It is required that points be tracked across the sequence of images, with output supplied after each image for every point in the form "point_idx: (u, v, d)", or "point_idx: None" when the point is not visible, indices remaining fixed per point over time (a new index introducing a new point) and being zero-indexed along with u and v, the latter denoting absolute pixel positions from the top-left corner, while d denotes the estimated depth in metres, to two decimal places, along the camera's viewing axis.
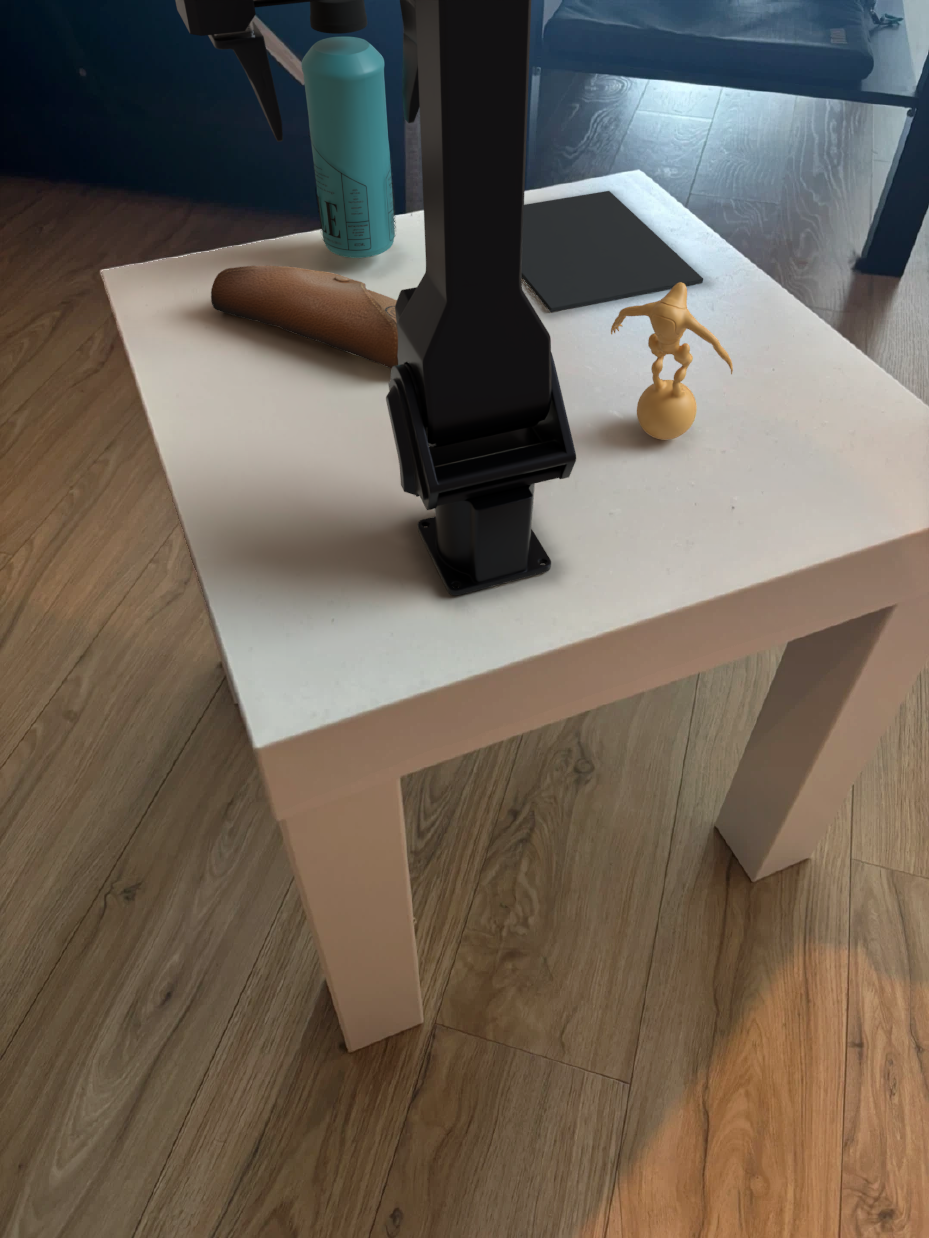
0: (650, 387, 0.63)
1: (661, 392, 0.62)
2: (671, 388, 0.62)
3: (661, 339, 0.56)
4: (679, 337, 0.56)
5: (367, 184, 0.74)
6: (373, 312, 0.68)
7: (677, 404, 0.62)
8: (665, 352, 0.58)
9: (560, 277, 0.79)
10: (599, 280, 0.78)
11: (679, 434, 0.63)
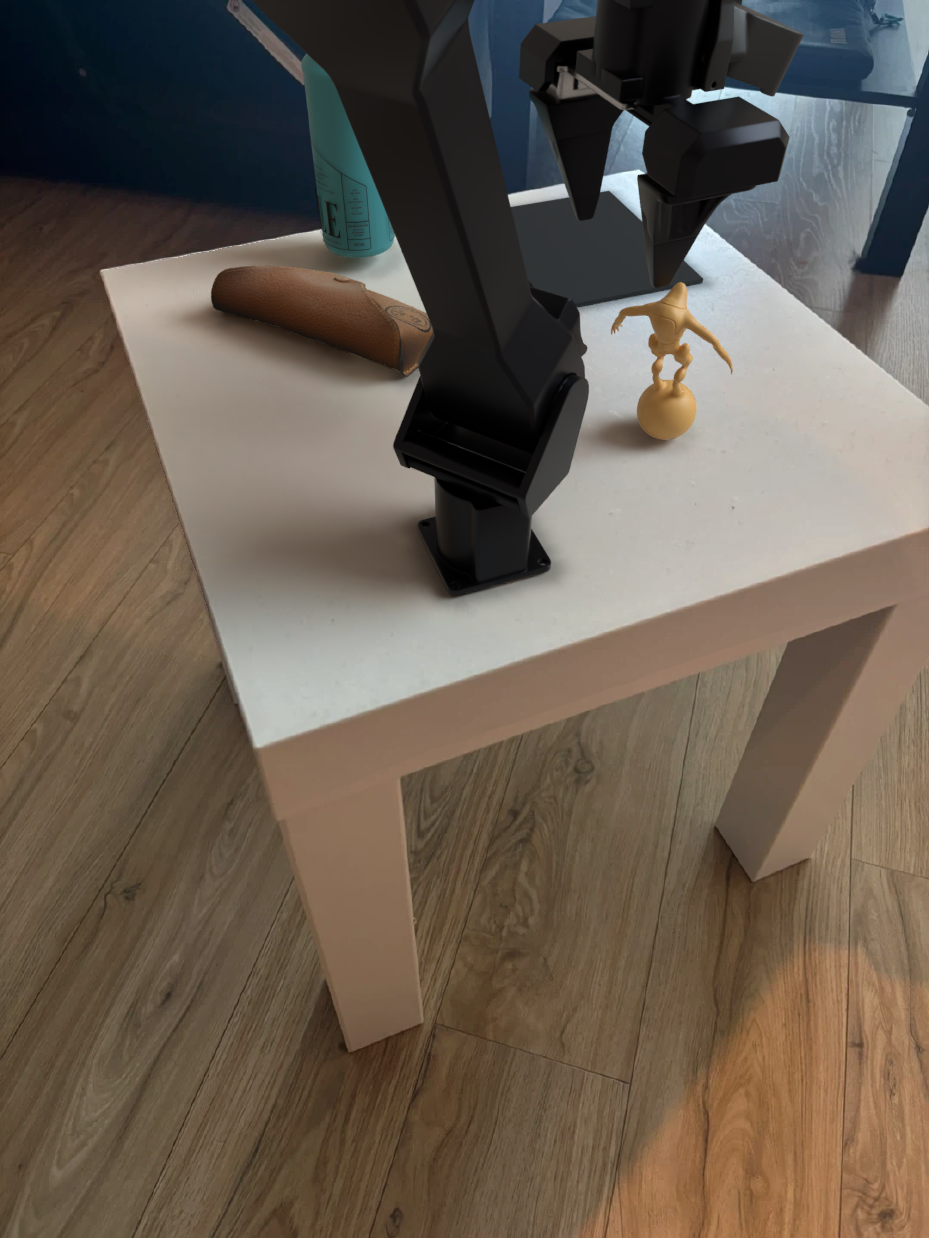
0: (650, 387, 0.63)
1: (661, 392, 0.62)
2: (671, 388, 0.62)
3: (661, 339, 0.56)
4: (679, 337, 0.56)
5: (367, 184, 0.74)
6: (373, 312, 0.68)
7: (677, 404, 0.62)
8: (665, 352, 0.58)
9: (560, 277, 0.79)
10: (599, 280, 0.78)
11: (679, 434, 0.63)
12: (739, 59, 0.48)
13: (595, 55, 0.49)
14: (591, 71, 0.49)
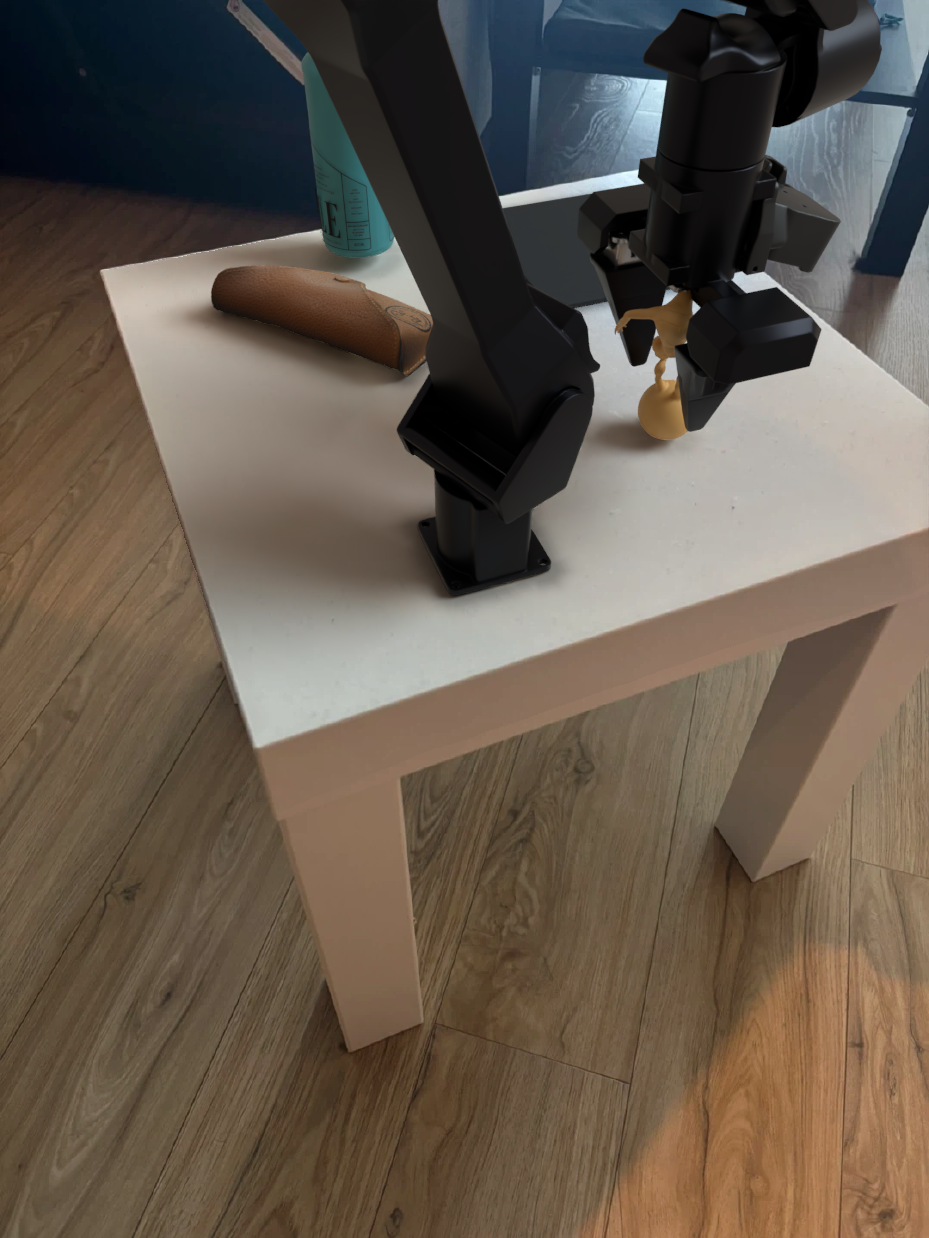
0: (652, 387, 0.63)
1: (663, 392, 0.62)
2: (673, 389, 0.62)
3: (665, 344, 0.56)
4: (683, 342, 0.56)
5: (367, 184, 0.74)
6: (373, 312, 0.68)
7: (678, 405, 0.61)
8: (669, 356, 0.58)
9: (560, 277, 0.79)
10: (599, 280, 0.78)
11: (679, 435, 0.63)
12: (779, 247, 0.53)
13: (646, 240, 0.53)
14: (642, 252, 0.54)
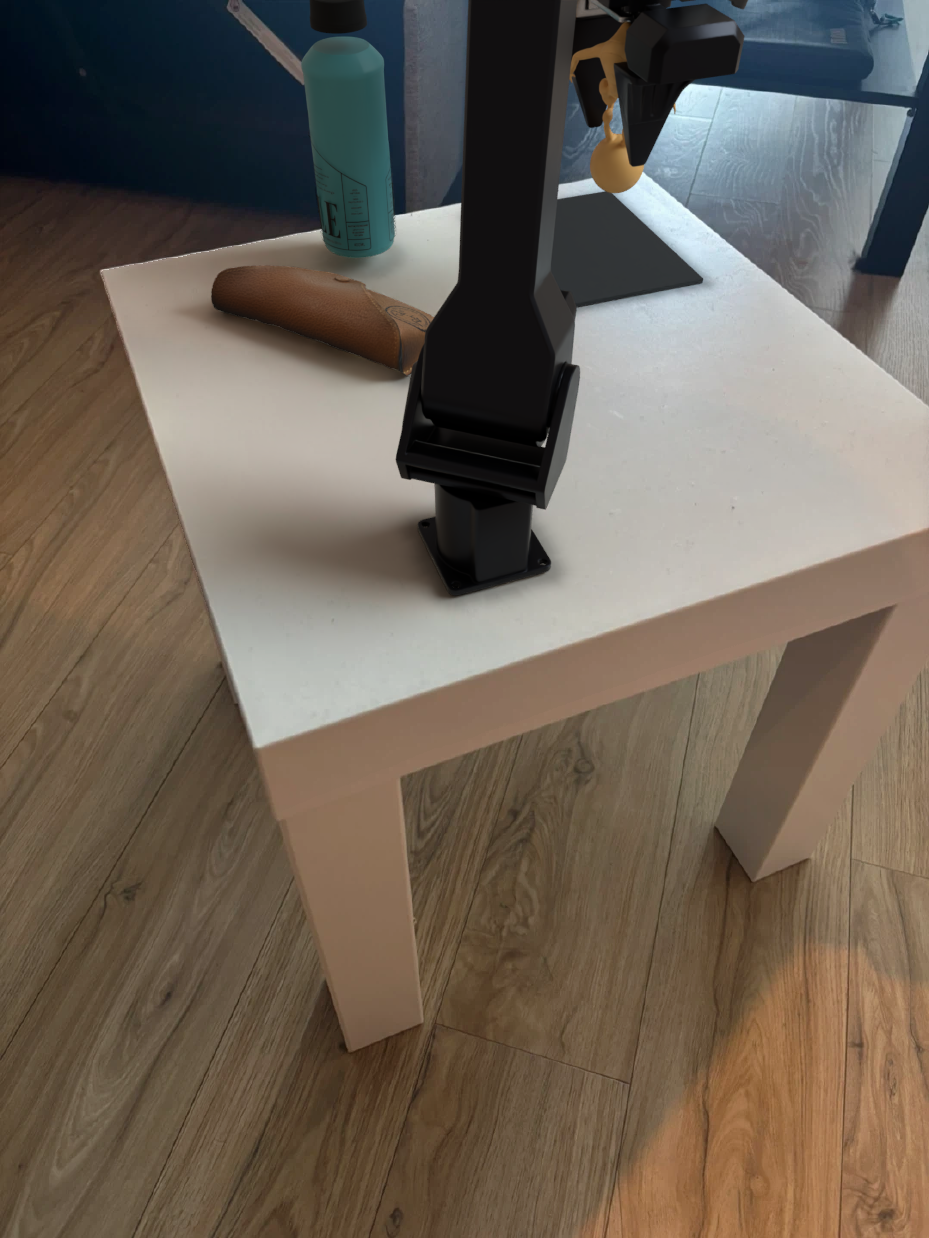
0: (602, 141, 0.68)
1: (611, 143, 0.68)
2: (621, 139, 0.68)
3: (611, 79, 0.62)
4: None
5: (367, 184, 0.74)
6: (373, 312, 0.68)
7: (626, 153, 0.68)
8: (615, 95, 0.64)
9: (560, 277, 0.79)
10: (599, 280, 0.78)
11: (629, 185, 0.69)
12: None
13: None
14: None
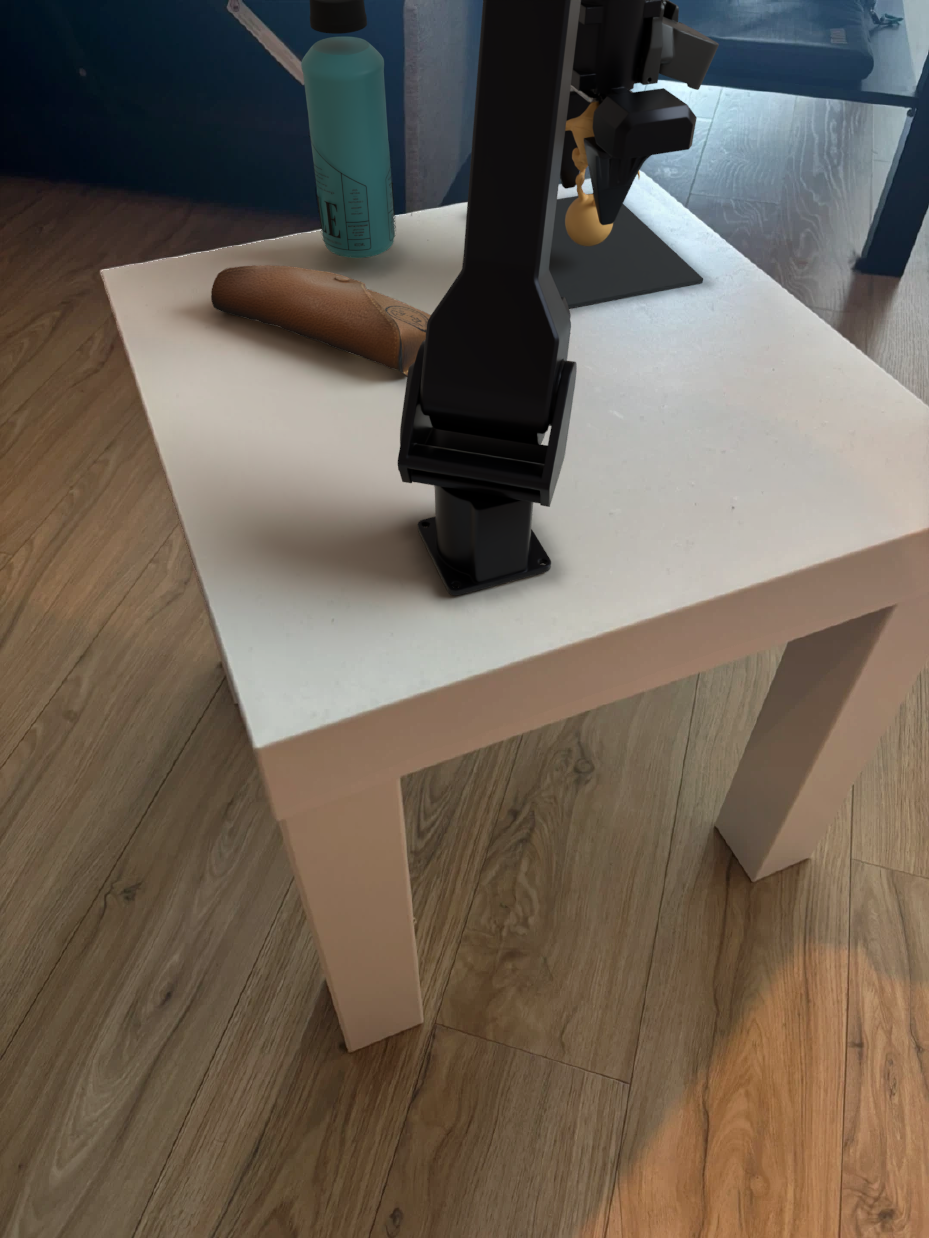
0: (575, 200, 0.77)
1: (584, 202, 0.76)
2: (592, 199, 0.76)
3: (582, 149, 0.70)
4: None
5: (367, 184, 0.74)
6: (373, 312, 0.68)
7: None
8: (586, 162, 0.72)
9: (560, 277, 0.79)
10: (599, 280, 0.78)
11: (600, 240, 0.77)
12: (668, 61, 0.67)
13: None
14: None
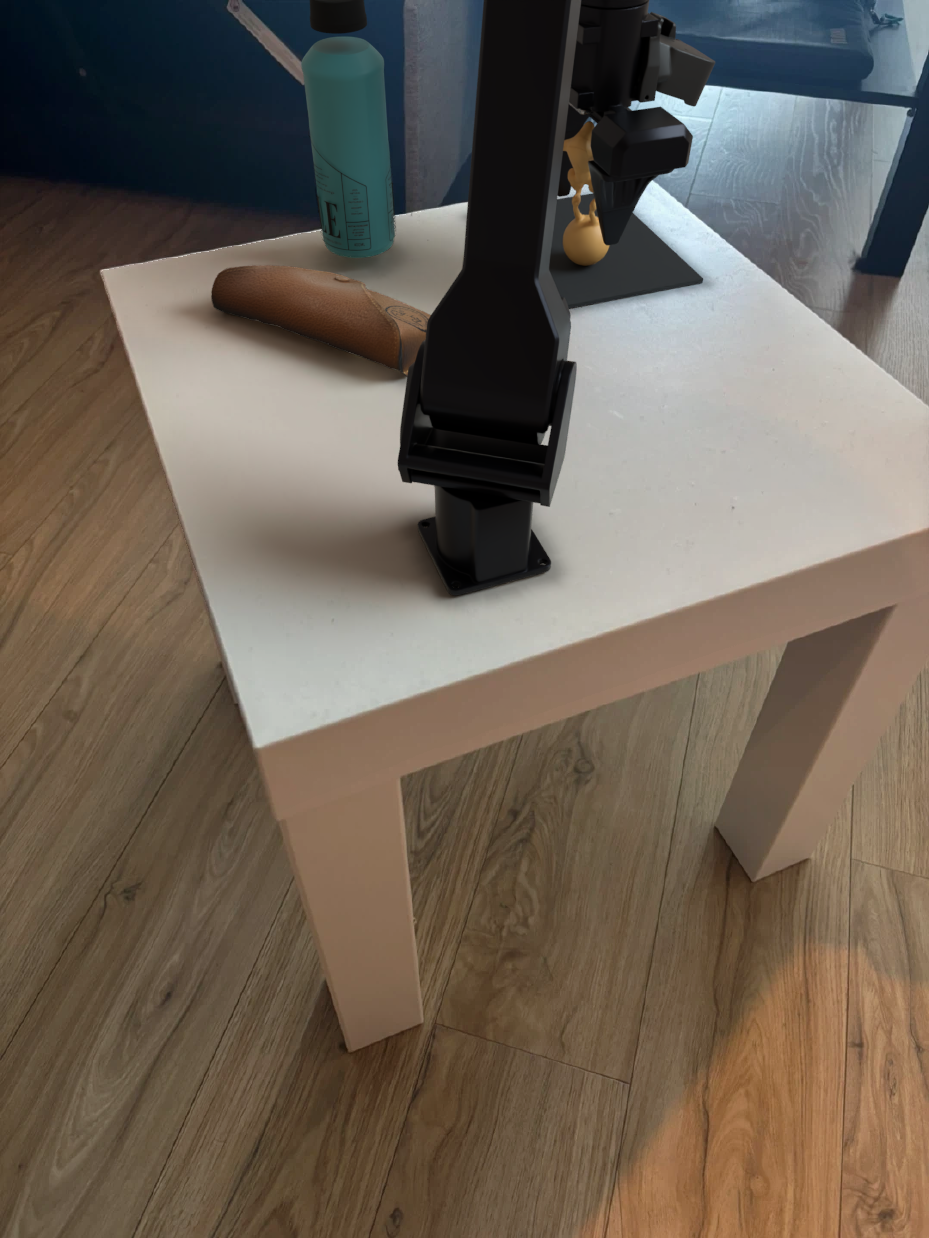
0: (572, 221, 0.78)
1: (580, 222, 0.77)
2: (588, 219, 0.77)
3: (577, 168, 0.72)
4: None
5: (367, 184, 0.74)
6: (373, 312, 0.68)
7: (593, 231, 0.77)
8: (581, 182, 0.73)
9: (560, 277, 0.79)
10: (599, 280, 0.78)
11: (597, 258, 0.79)
12: (665, 79, 0.68)
13: None
14: None
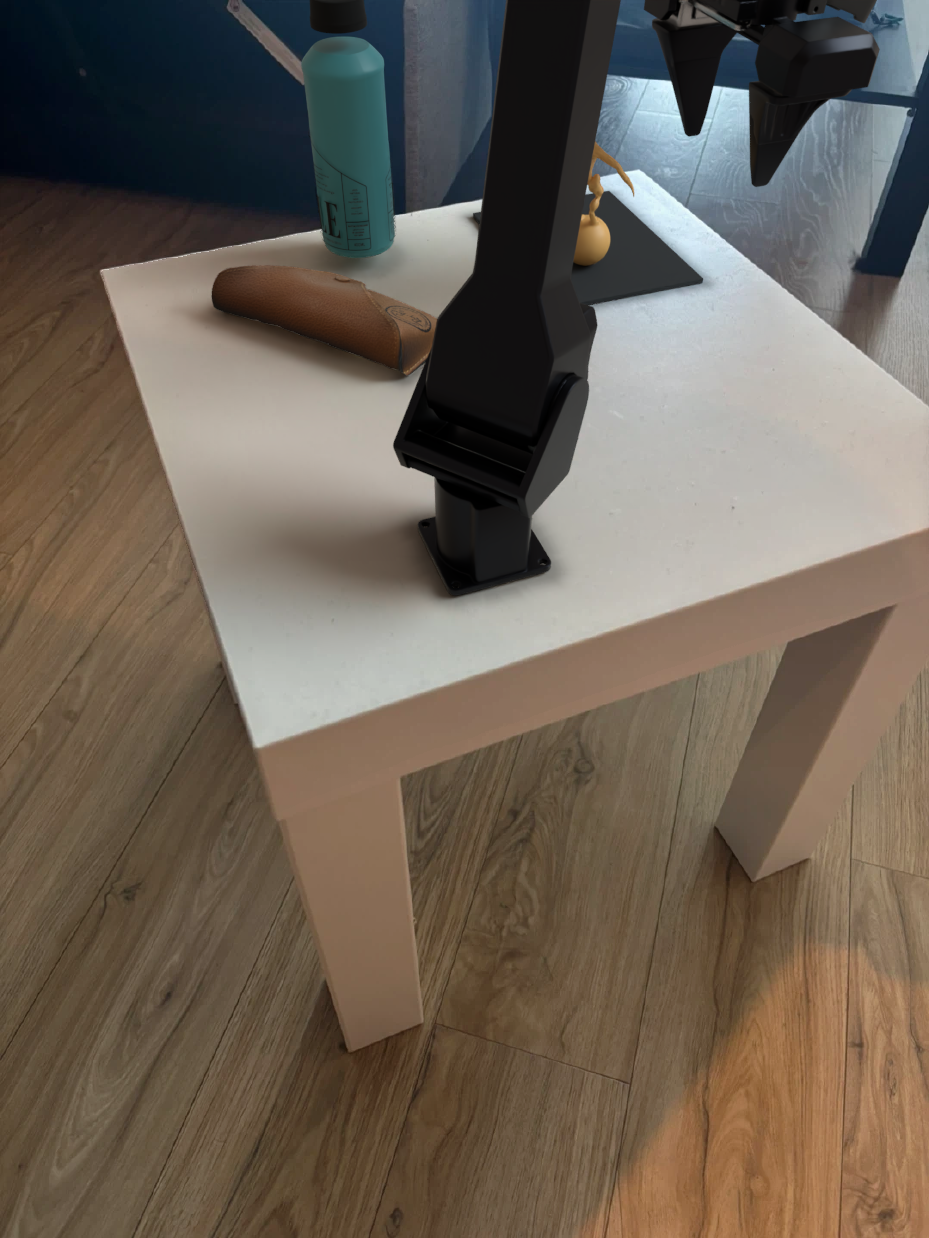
0: None
1: (580, 222, 0.77)
2: (588, 219, 0.77)
3: None
4: (591, 167, 0.72)
5: (367, 184, 0.74)
6: (373, 312, 0.68)
7: (593, 231, 0.77)
8: None
9: None
10: (599, 280, 0.78)
11: (597, 258, 0.79)
12: None
13: None
14: None
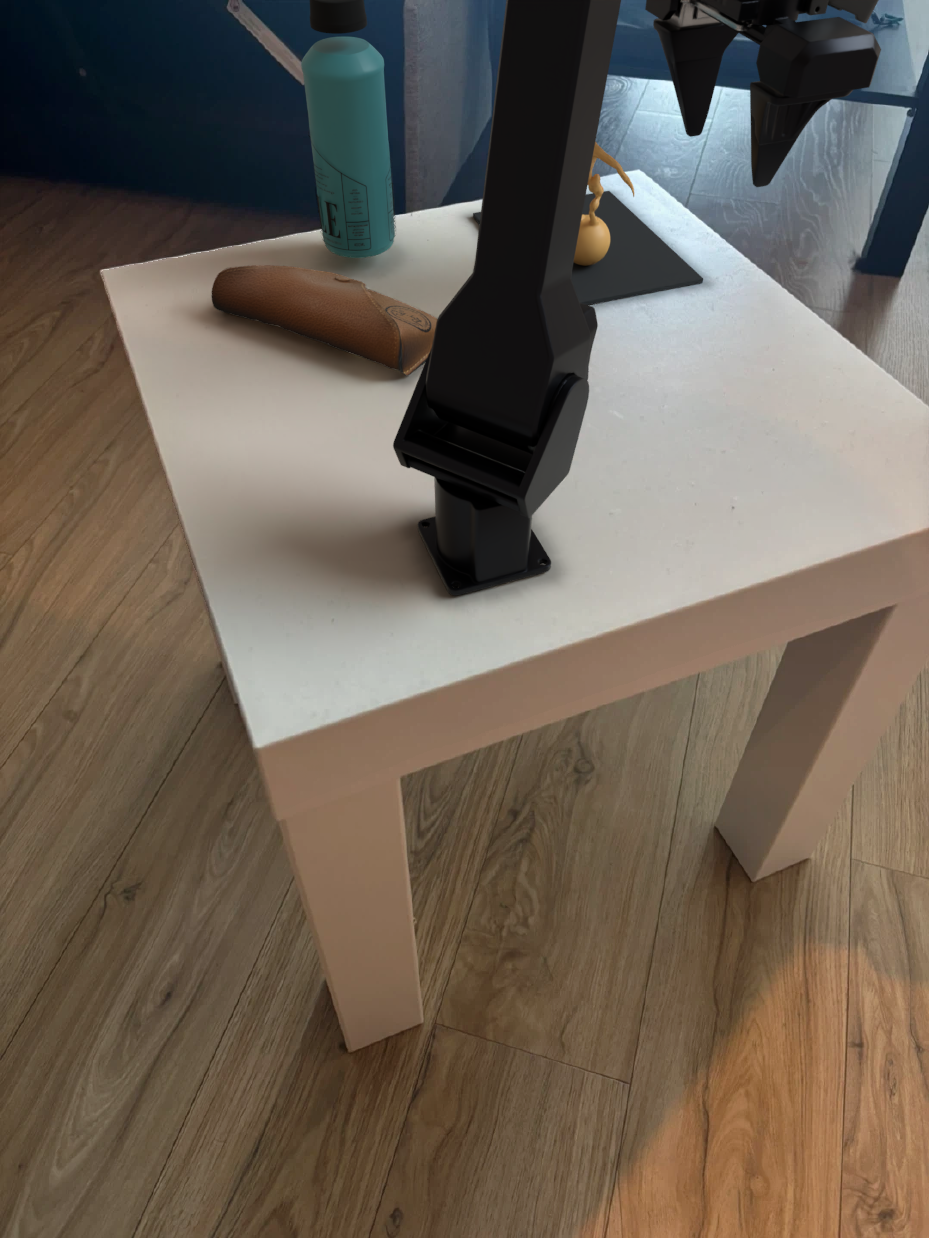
0: None
1: None
2: (588, 219, 0.77)
3: None
4: (591, 167, 0.72)
5: (367, 184, 0.74)
6: (373, 312, 0.68)
7: (593, 231, 0.77)
8: None
9: None
10: (599, 280, 0.78)
11: (597, 258, 0.79)
12: None
13: None
14: None
